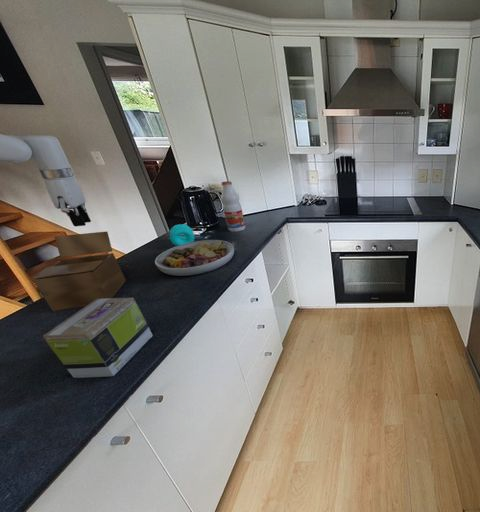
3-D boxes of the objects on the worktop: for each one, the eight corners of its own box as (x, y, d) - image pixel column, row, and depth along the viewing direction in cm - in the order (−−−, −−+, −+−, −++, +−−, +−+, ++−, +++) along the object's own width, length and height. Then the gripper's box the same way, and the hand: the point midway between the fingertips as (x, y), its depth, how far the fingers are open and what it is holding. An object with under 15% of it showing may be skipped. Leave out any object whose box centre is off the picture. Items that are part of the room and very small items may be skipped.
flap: (54, 236, 98) (55, 236, 98) (60, 257, 99) (61, 257, 99) (106, 231, 103) (107, 231, 104) (111, 251, 104) (112, 251, 105)
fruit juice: (245, 225, 169) (235, 180, 157) (246, 230, 162) (235, 183, 149) (228, 227, 166) (217, 181, 153) (228, 233, 158) (216, 184, 146)
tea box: (119, 337, 82) (97, 296, 75) (154, 336, 83) (135, 296, 76) (71, 379, 69) (39, 334, 62) (113, 377, 69) (87, 333, 63)
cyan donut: (173, 249, 136) (167, 231, 132) (173, 243, 144) (166, 225, 139) (197, 245, 142) (191, 227, 137) (195, 239, 149) (189, 221, 144)
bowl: (155, 260, 126) (149, 244, 123) (226, 243, 144) (222, 230, 141) (163, 287, 106) (156, 270, 103) (244, 264, 124) (240, 249, 121)
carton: (52, 311, 92) (31, 278, 86) (77, 287, 105) (60, 257, 99) (109, 302, 97) (92, 269, 91) (125, 280, 110) (112, 251, 104)
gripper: (57, 170, 99) (81, 218, 108) (26, 178, 86) (56, 232, 94) (84, 169, 102) (105, 216, 110) (58, 177, 89) (85, 230, 97)
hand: (82, 223), depth 102 cm, fingers open, 3 cm apart
